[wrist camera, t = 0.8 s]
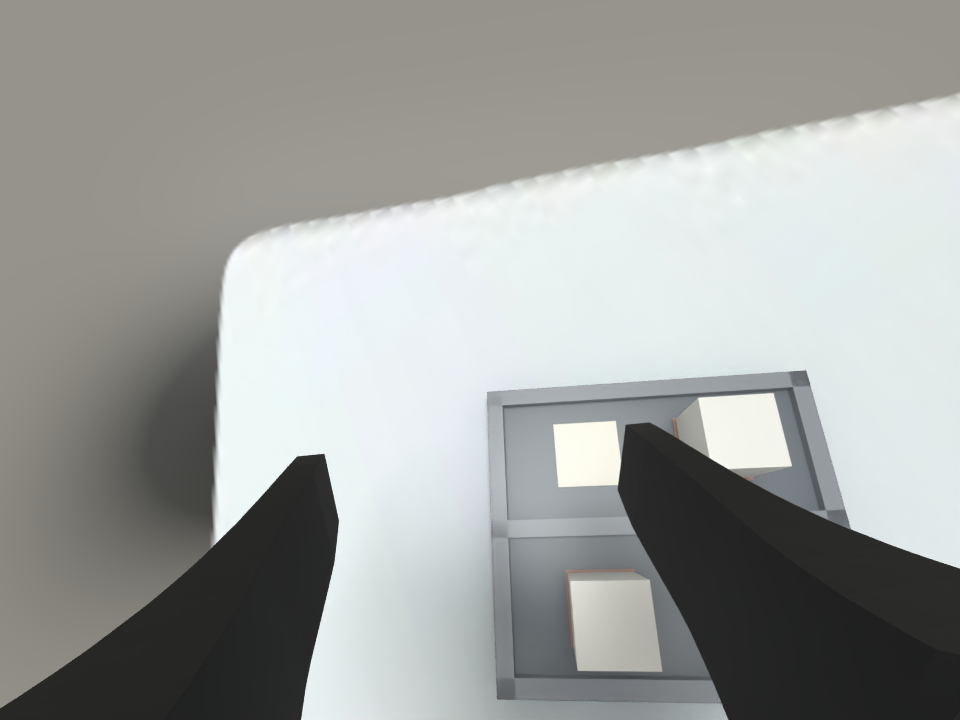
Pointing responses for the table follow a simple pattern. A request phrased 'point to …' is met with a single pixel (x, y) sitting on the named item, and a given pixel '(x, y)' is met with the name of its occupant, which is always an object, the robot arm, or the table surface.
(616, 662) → the tab
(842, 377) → the table surface
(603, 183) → the table surface
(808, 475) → the grey sorting tray
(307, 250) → the table surface
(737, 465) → the tab
